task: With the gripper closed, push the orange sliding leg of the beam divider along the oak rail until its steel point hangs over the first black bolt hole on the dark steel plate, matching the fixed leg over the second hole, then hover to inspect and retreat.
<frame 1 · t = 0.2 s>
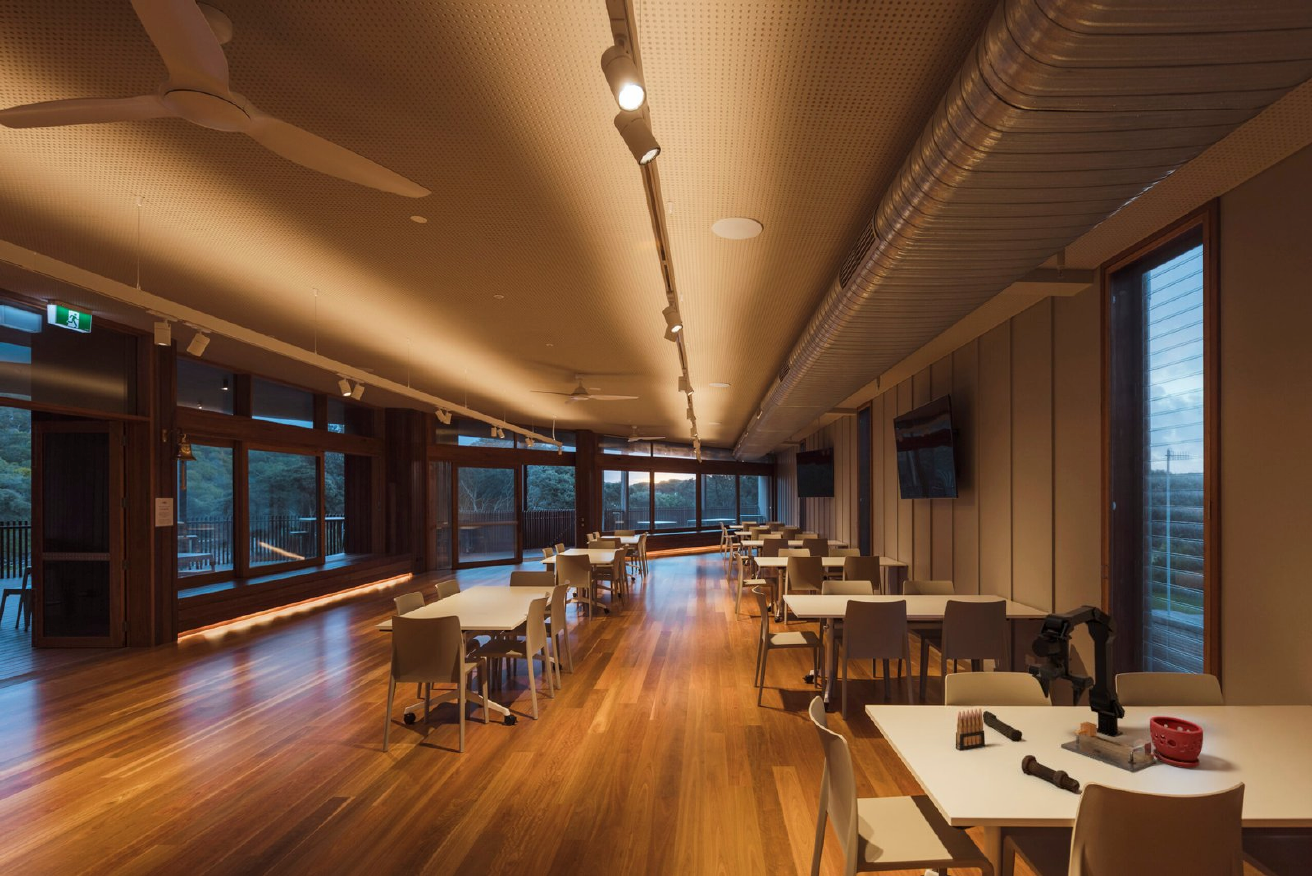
hand: (1060, 701, 221), 14 cm above the table, fingers open, 9 cm apart
slide leg: (1084, 733, 221), point 4 cm above the table, slide at 0.0 cm
ammunition clip: (970, 748, 217), on the table
bolt: (1050, 784, 192), on the table
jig: (1107, 755, 213), on the table
plant pot: (1177, 763, 208), on the table
hand tool: (998, 732, 232), on the table
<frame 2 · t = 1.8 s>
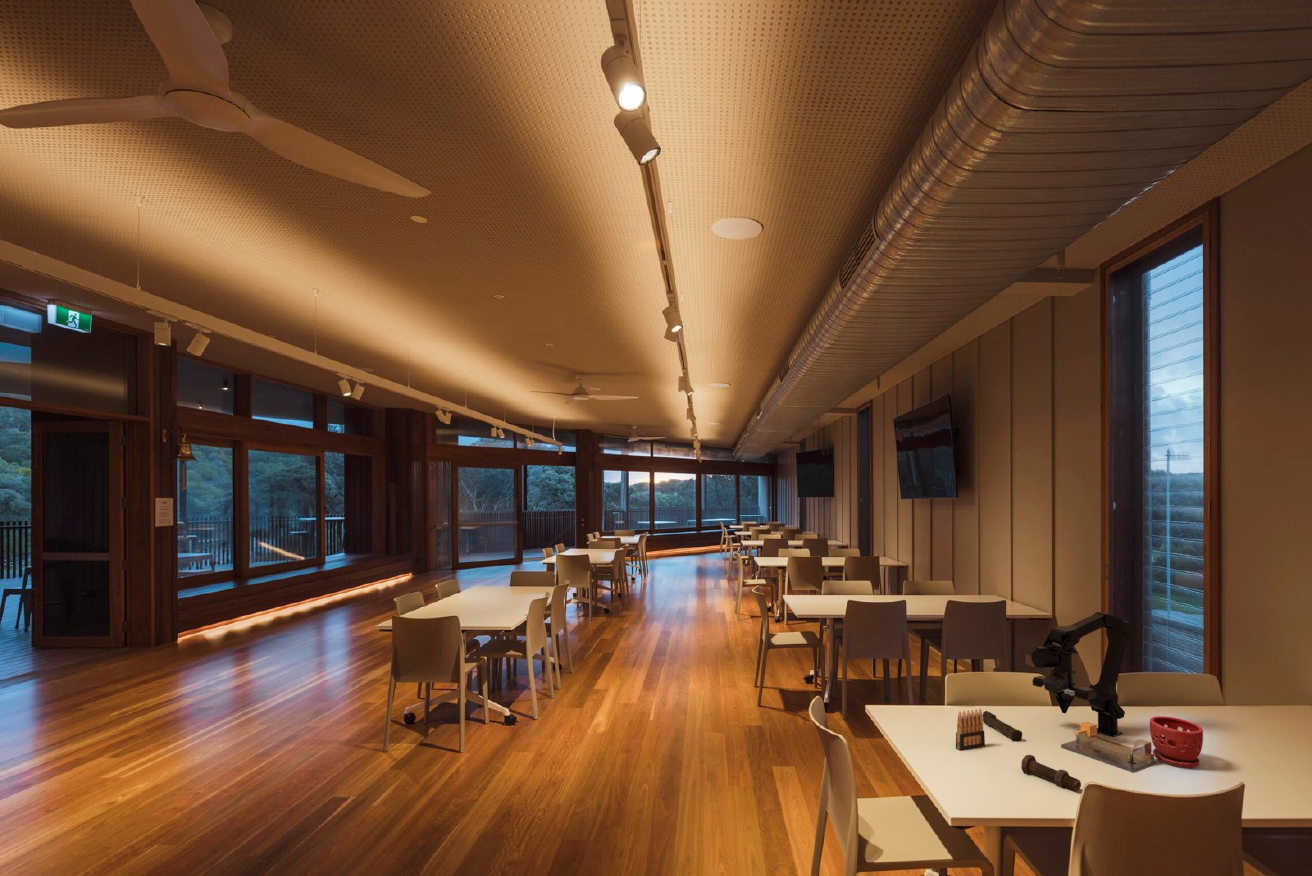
hand: (1064, 713, 229), 8 cm above the table, fingers closed
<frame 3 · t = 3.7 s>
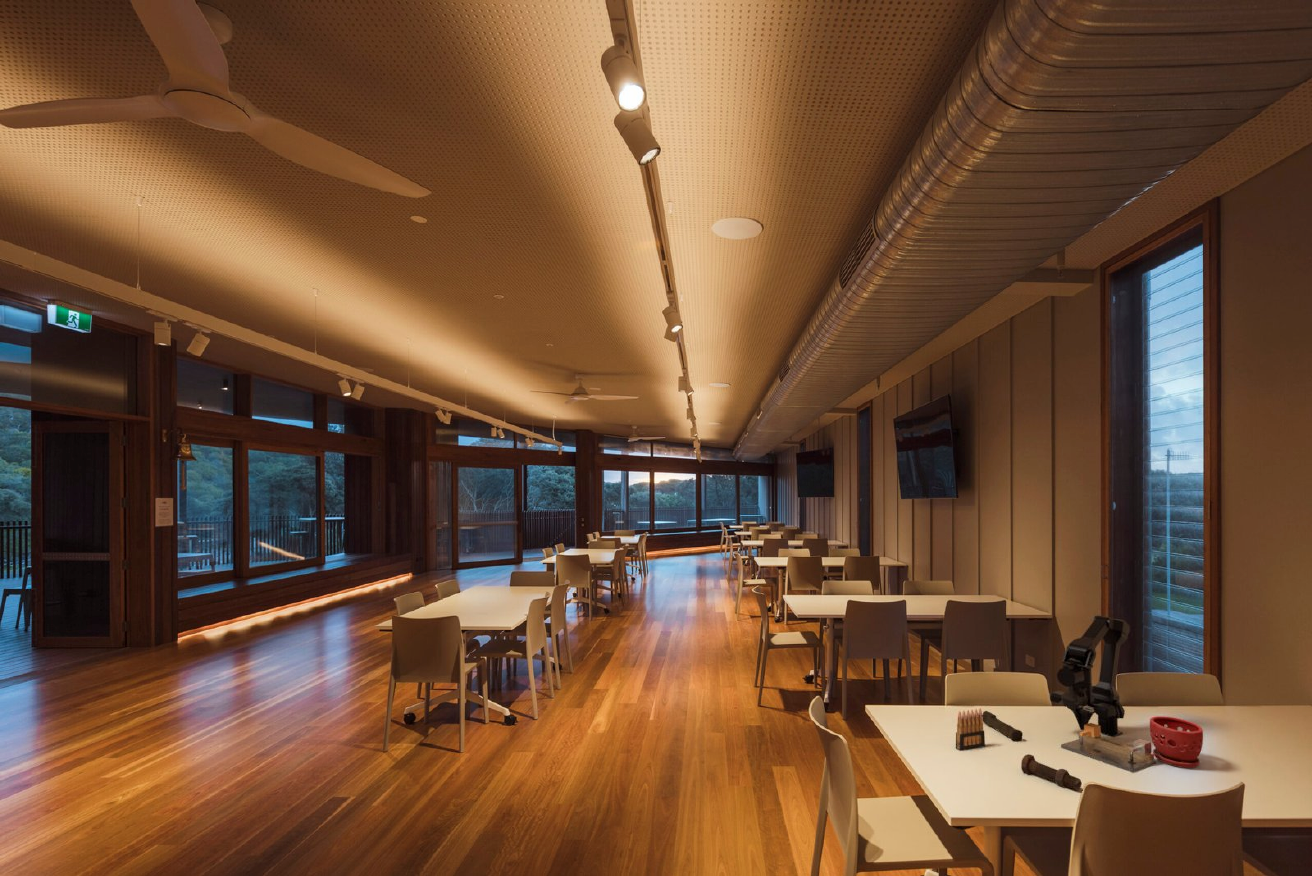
hand: (1082, 729, 224), 4 cm above the table, fingers closed
slide leg: (1088, 734, 220), point 4 cm above the table, slide at 1.2 cm, touching gripper
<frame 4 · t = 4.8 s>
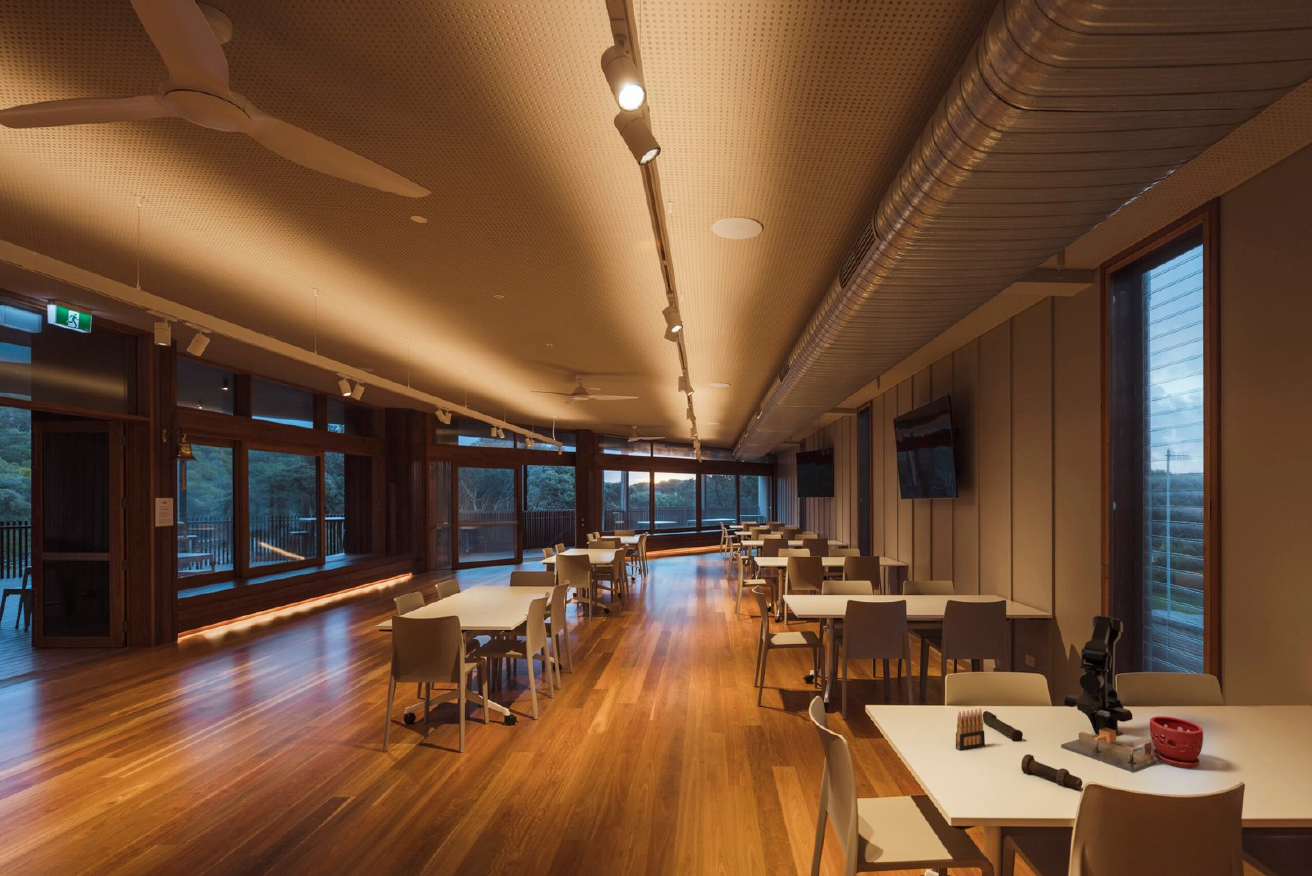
hand: (1097, 734, 220), 4 cm above the table, fingers closed
slide leg: (1103, 739, 216), point 4 cm above the table, slide at 5.9 cm, touching gripper
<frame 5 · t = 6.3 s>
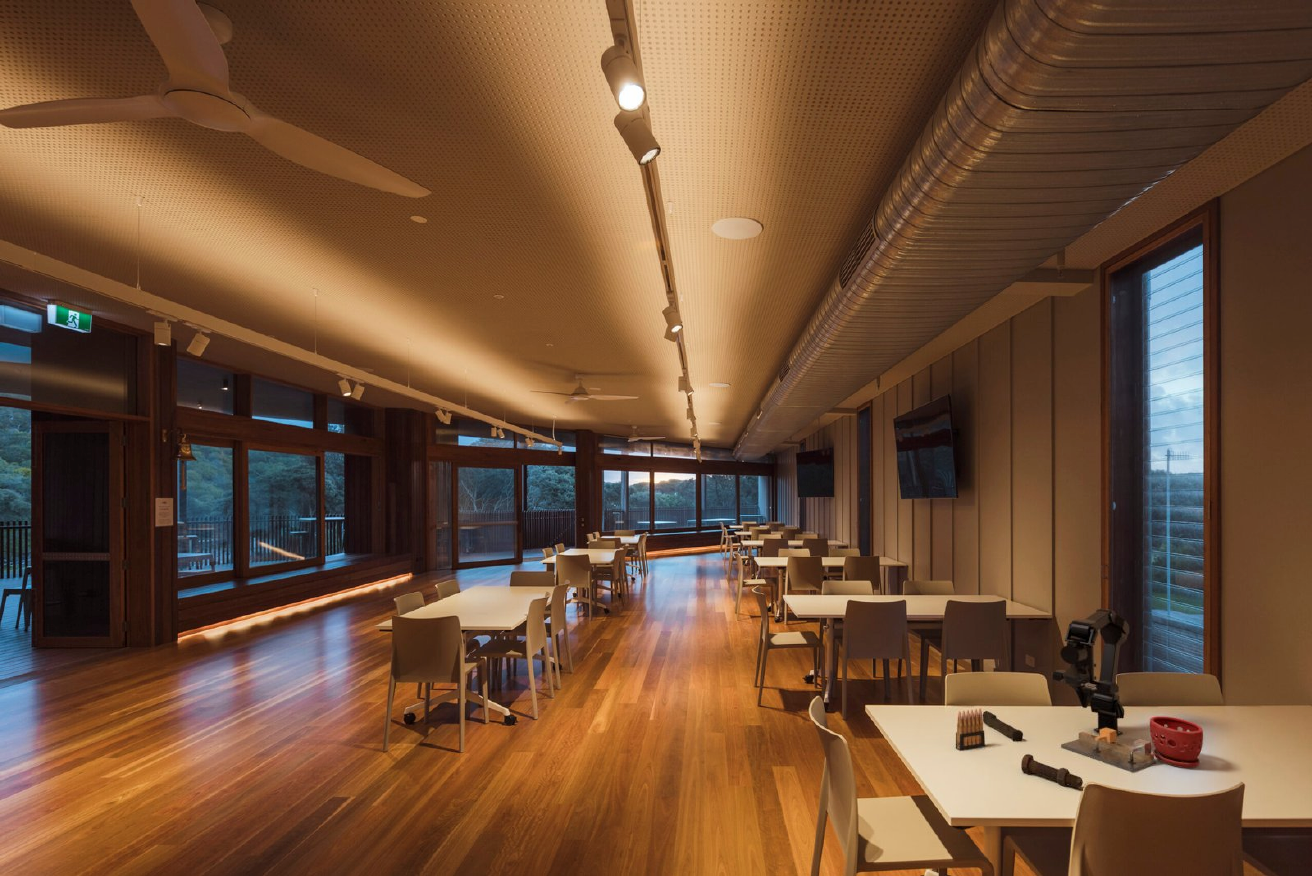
hand: (1084, 707, 223), 12 cm above the table, fingers closed
slide leg: (1104, 739, 216), point 4 cm above the table, slide at 6.0 cm
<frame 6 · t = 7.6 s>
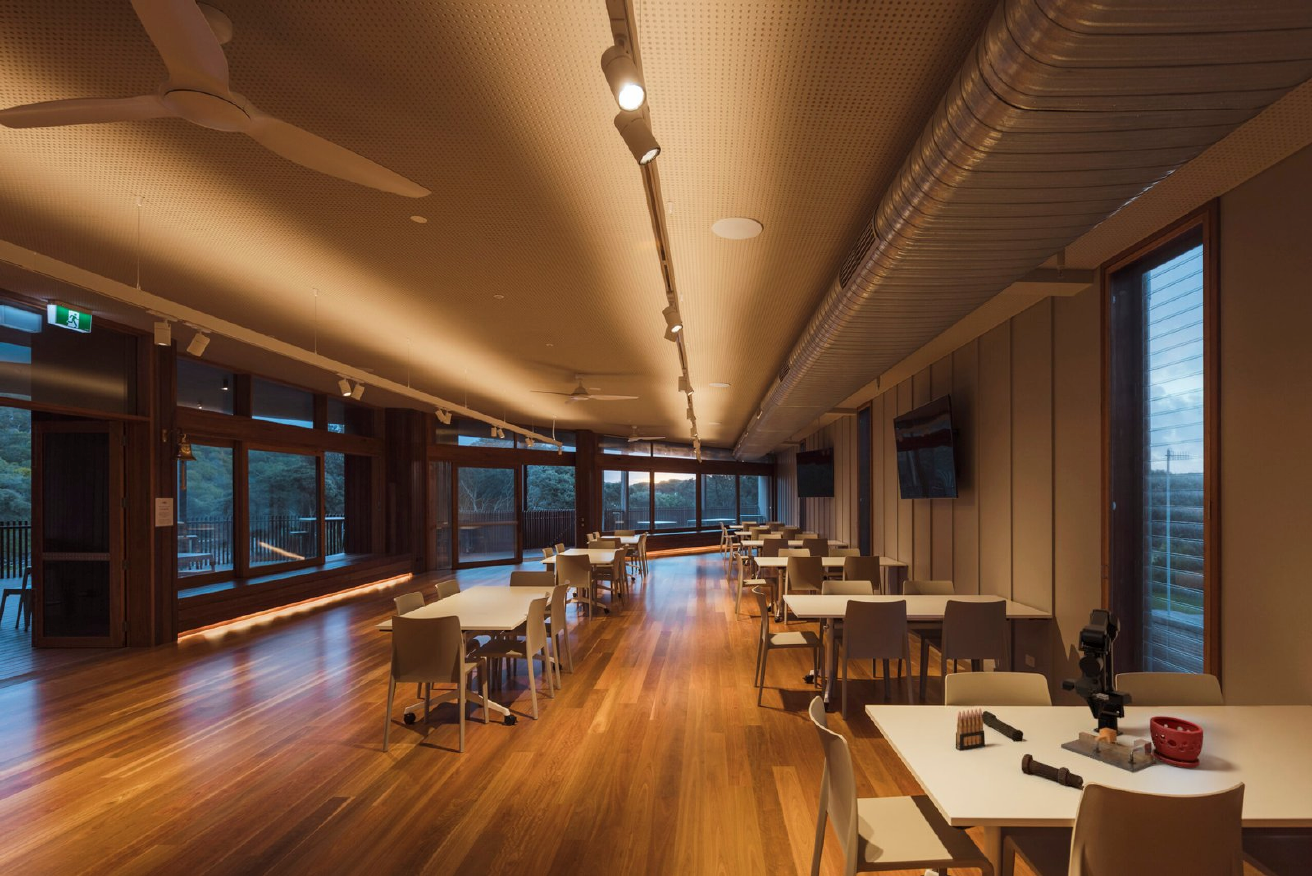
hand: (1096, 718, 214), 11 cm above the table, fingers closed
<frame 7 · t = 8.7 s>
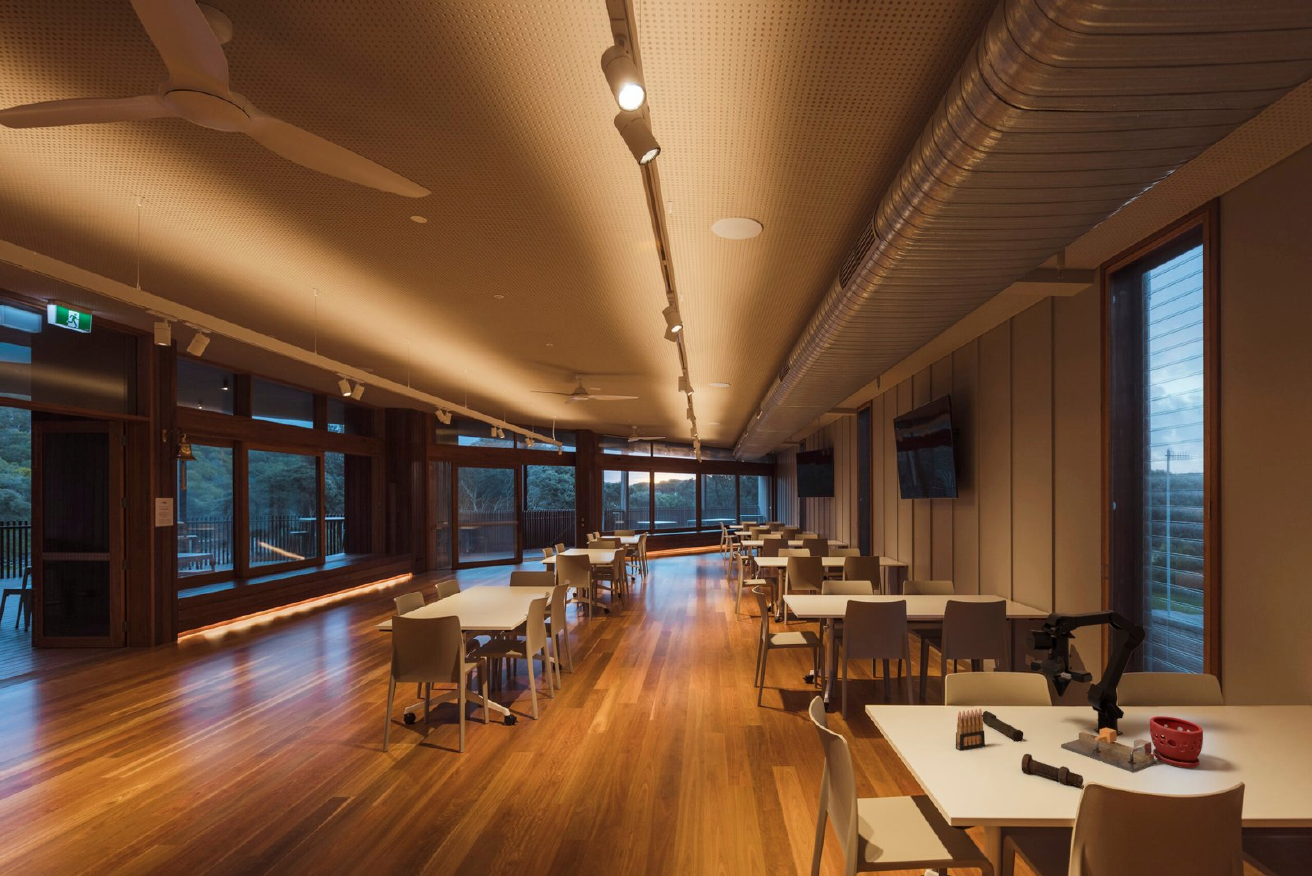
hand: (1060, 696, 234), 12 cm above the table, fingers closed
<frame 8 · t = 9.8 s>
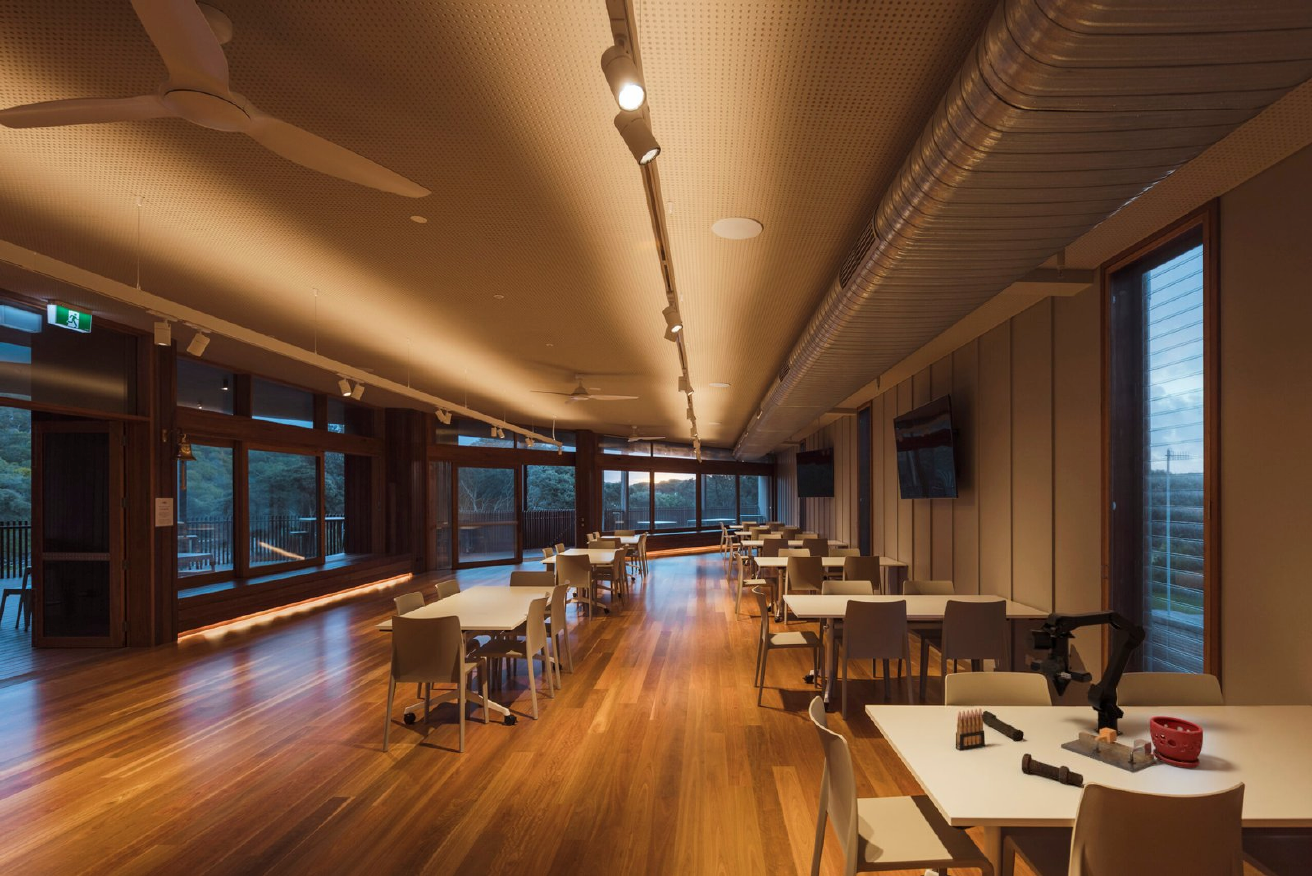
hand: (1060, 696, 234), 12 cm above the table, fingers closed
at the end: slide leg slide at 6.0 cm; slide leg 0.0 cm from the target spot, resting on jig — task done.
